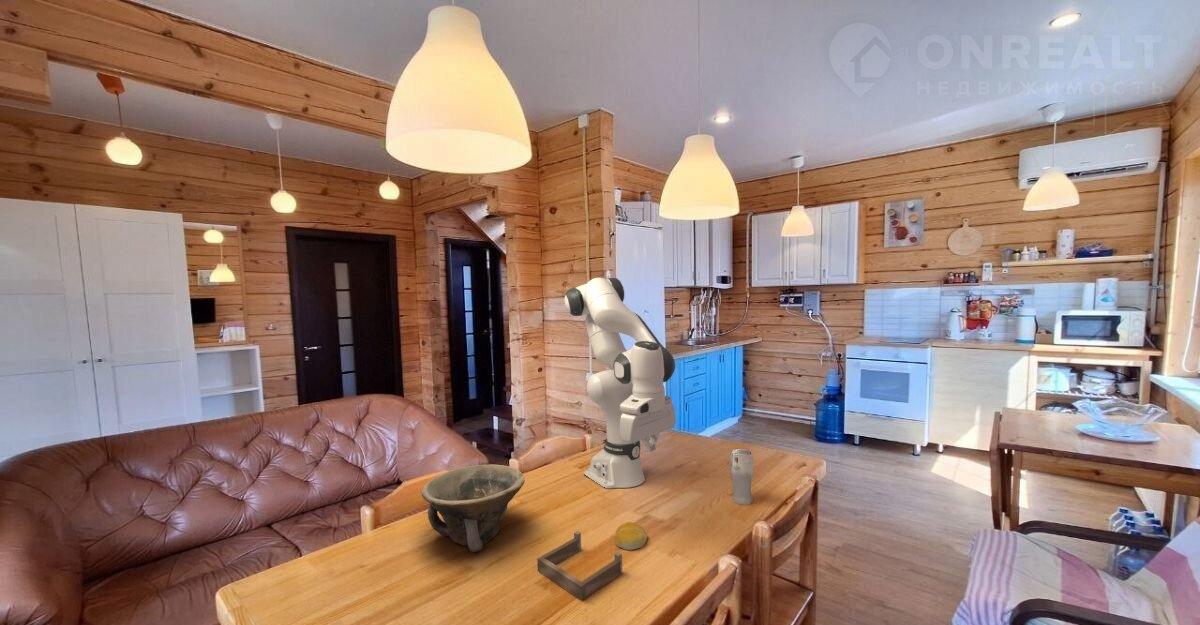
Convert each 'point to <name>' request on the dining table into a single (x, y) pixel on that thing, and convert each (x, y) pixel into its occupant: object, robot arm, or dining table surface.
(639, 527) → the bread roll
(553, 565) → the bay
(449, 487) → the bowl
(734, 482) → the beer glass
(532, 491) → the dining table surface
